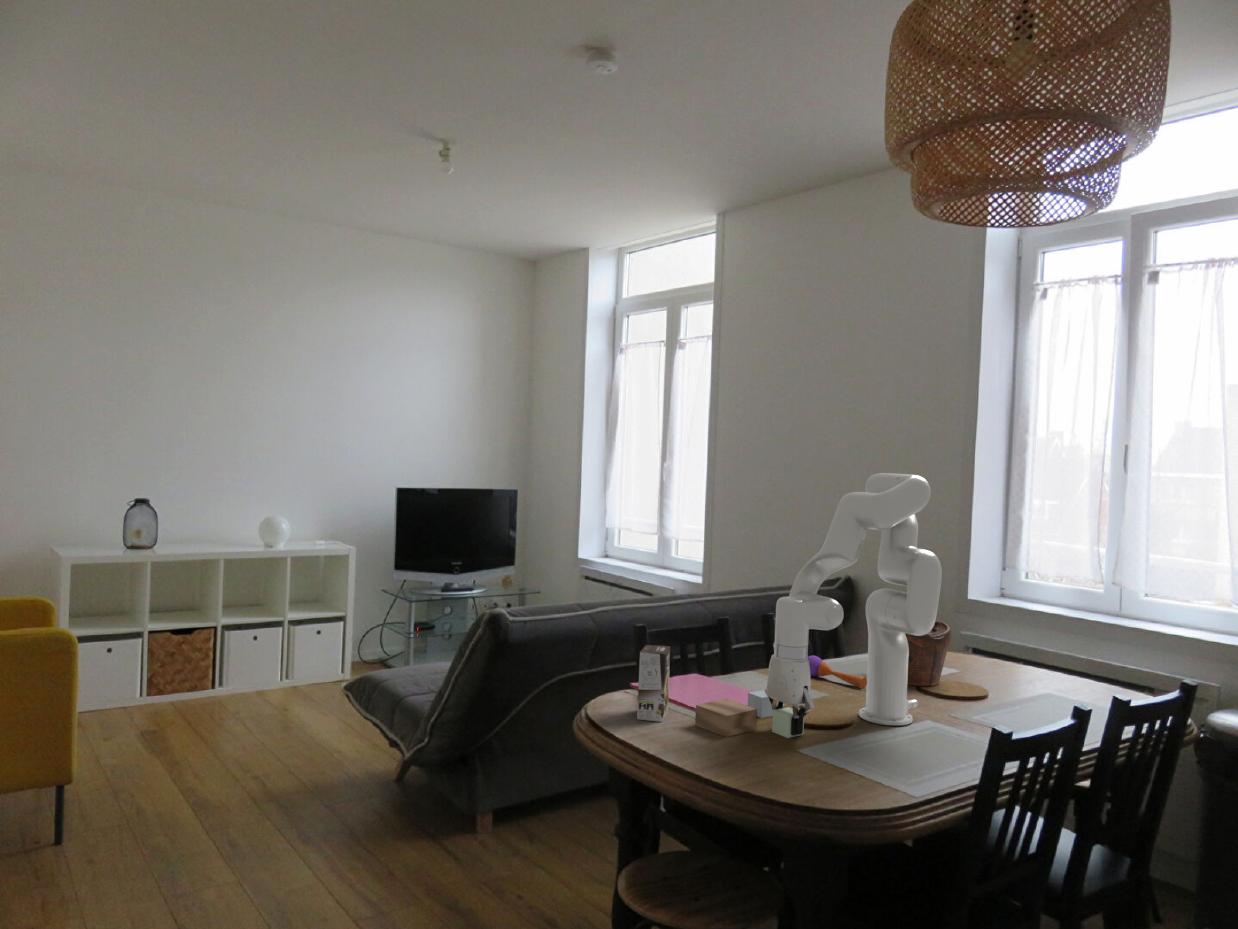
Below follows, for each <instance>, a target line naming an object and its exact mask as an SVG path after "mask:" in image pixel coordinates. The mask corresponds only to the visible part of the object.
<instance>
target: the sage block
mask: <svg viewBox="0 0 1238 929" xmlns="http://www.w3.org/2000/svg"><path fill="white" fill-rule="evenodd" d="M792 717H794V716H793V709H792V707H784V708H781V709H776V710H773V716H772V718H771V719H772V720H771V721H772V723H771V732H772V733H773V734H774V733H775V734H777V735H779V736H781V737H784V738H787V739H789V738H790V739H791V738H794V737H799V736H803V735H804V731H805V730H804V728H805V727H804V726H805V717H803V733H802V734H799V735H795V736H793V735H791V720H792Z"/></svg>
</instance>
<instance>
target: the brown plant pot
mask: <svg viewBox="0 0 1238 929" xmlns="http://www.w3.org/2000/svg"><path fill="white" fill-rule="evenodd" d="M951 633H952V631H951V627H950V626H949V624H947V623H945V622H942V621H938V620H935V624H934V626H933V628H932V629H931V630H930V632H928V633H927V634H925V635H922V636H915V635H910V634H906V633H905V635H906V638H907V641H908V647H909V657H908V681H907V685H912V686H919V687H920V686H921V687H924V686H925V687H928V686H929V687H933V686H937V685H939V684H940V682H941V677H942V673H943V668H944V666H945V665H944V664H945V661H946V656H947V655H948V654H947V652H948V649H949V646H950V645H951V644H952V643H953V641H952V634H951Z"/></svg>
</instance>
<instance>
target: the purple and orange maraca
mask: <svg viewBox="0 0 1238 929" xmlns="http://www.w3.org/2000/svg"><path fill="white" fill-rule="evenodd" d="M807 660H809V666H810V676H811V677H818V676H819V677H826V676H834V677H836V678H838V679H839V680H842V681H845V682H846V683H848V684H850V685H853V686H854V687H856V688H858V689H860V690H863V689H866V688H867V677H864V676H859V675H854V674H849V673H845V672H839V671H835V670H833V669H832V668H831V667H830V666H829V665H828V663H826V662H825V661H823V660H822V659H821V658H820V657H819V656H817V655H809V656H808V658H807Z"/></svg>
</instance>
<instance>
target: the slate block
mask: <svg viewBox="0 0 1238 929" xmlns="http://www.w3.org/2000/svg"><path fill="white" fill-rule="evenodd" d="M747 706H750V707H753V708H756V709H757V718H760V719H764V718H769V717H773V710H772V704H771V702H770V700H769V698H768V696H767V695H766V693H765V690H763V689H762V690H756V691H750V692H747Z"/></svg>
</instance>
